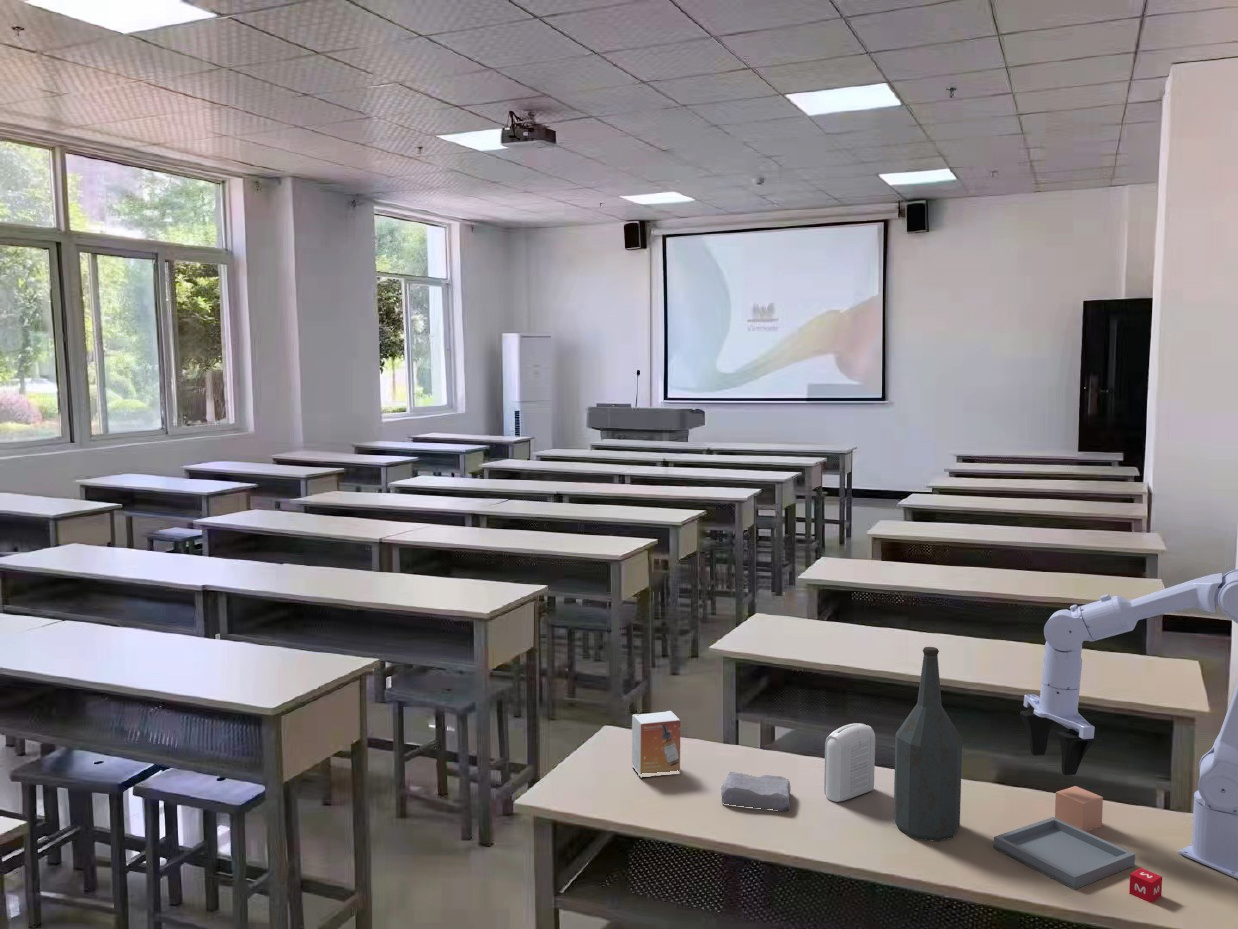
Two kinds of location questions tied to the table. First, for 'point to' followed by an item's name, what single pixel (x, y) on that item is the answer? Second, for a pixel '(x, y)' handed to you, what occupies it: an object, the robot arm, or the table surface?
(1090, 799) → the wooden cube
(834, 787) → the photo printer
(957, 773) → the bottle
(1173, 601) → the robot arm
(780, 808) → the stone block
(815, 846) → the table surface
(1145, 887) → the red letter cube
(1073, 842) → the tray
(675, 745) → the small box
